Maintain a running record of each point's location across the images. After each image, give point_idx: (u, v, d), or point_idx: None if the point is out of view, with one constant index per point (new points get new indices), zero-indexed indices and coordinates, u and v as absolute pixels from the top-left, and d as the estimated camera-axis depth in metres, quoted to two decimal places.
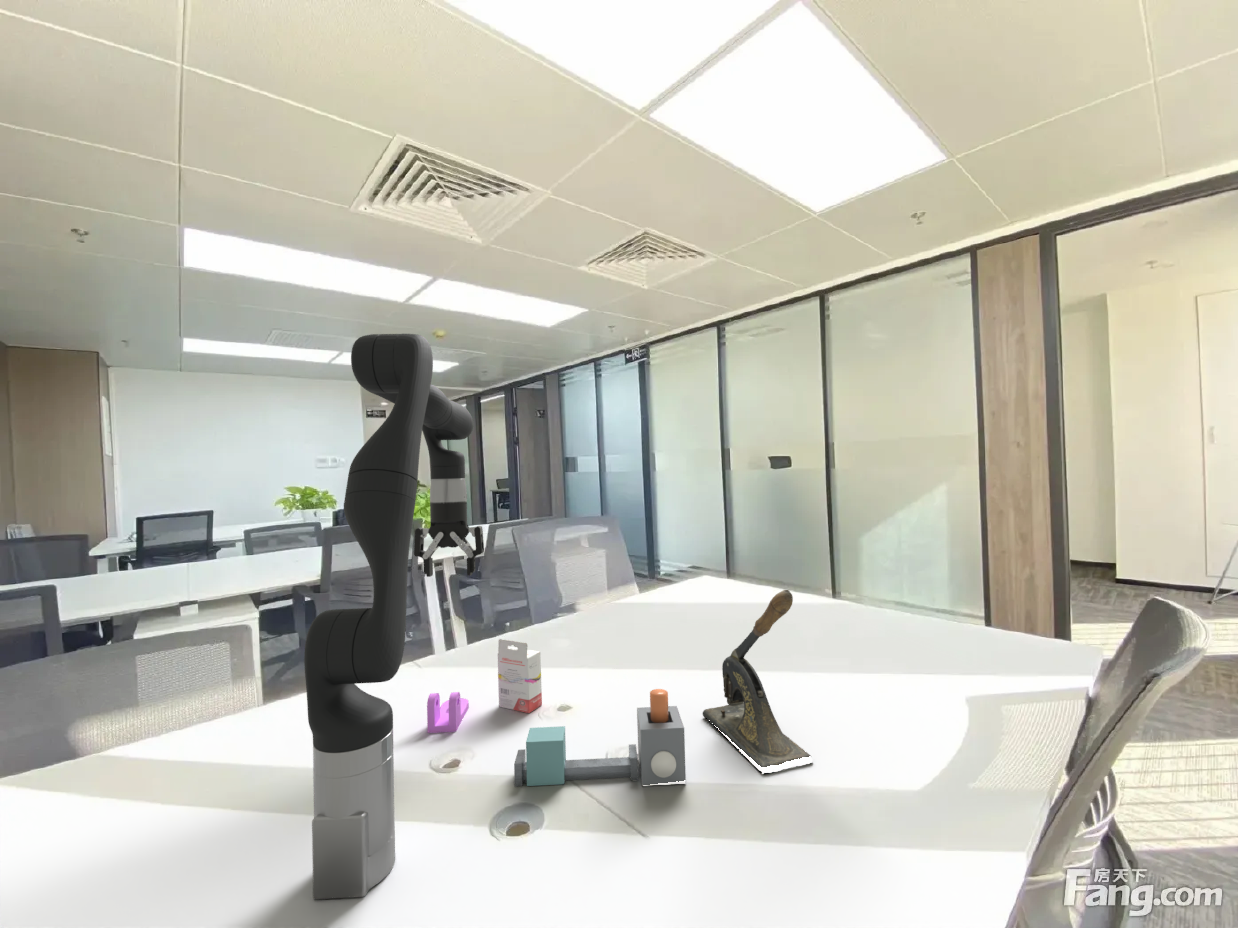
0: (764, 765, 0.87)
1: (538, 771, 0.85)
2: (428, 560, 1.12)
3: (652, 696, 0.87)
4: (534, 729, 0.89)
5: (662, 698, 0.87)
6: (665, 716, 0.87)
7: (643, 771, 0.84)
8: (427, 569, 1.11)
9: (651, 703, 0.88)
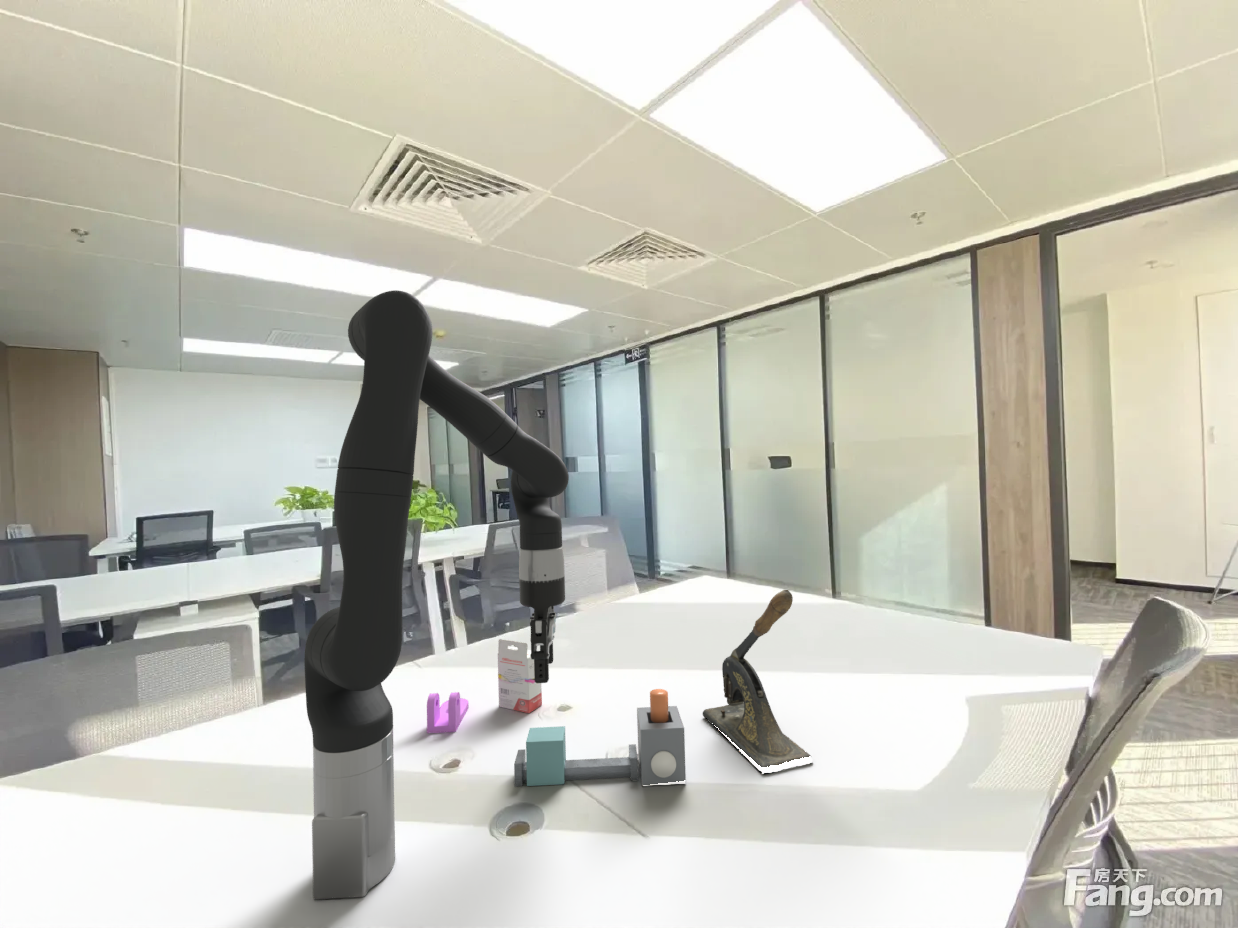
0: (764, 765, 0.87)
1: (538, 771, 0.85)
2: (547, 659, 0.84)
3: (652, 696, 0.87)
4: (534, 729, 0.89)
5: (662, 698, 0.87)
6: (665, 716, 0.87)
7: (643, 771, 0.84)
8: (548, 671, 0.83)
9: (651, 703, 0.88)
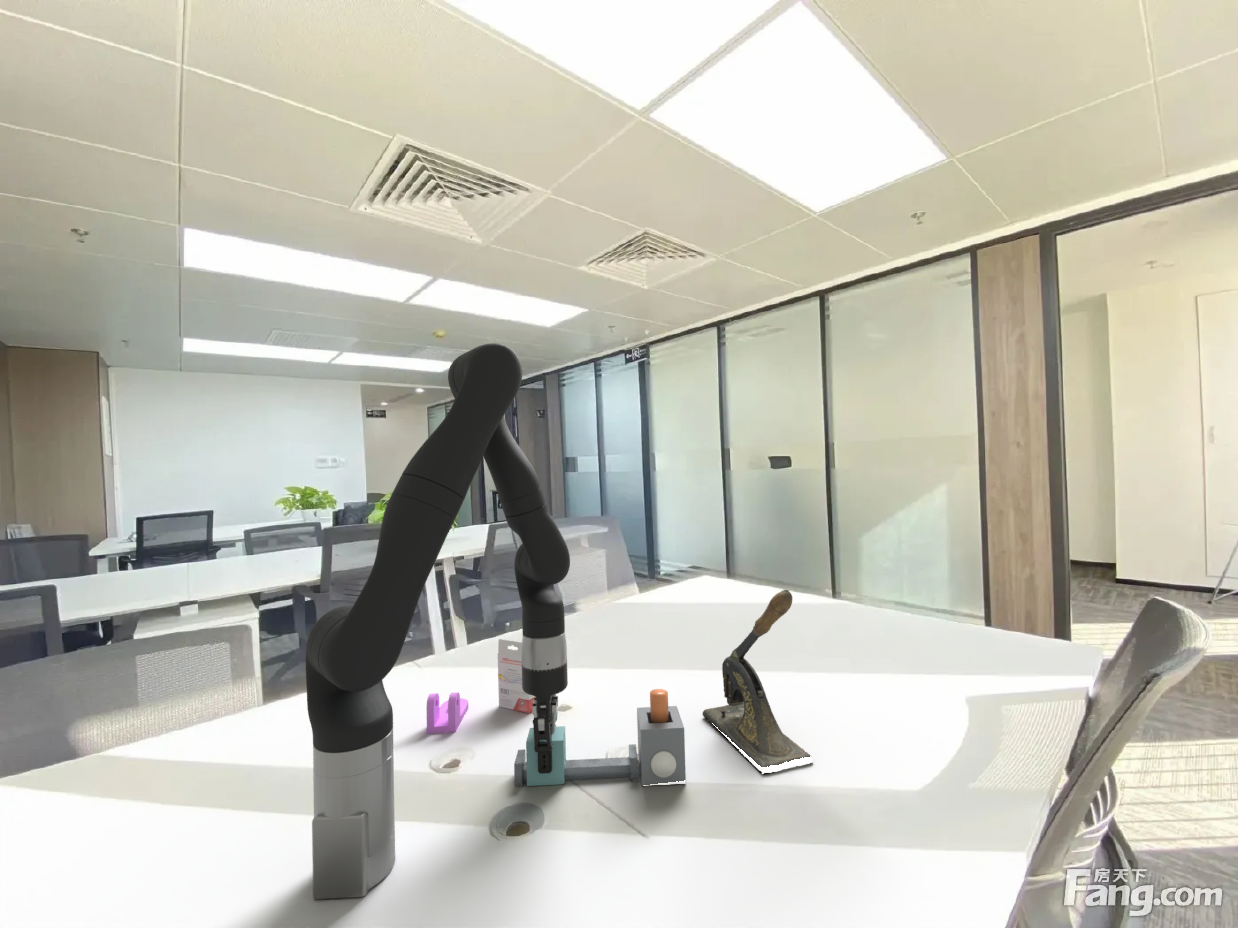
0: (764, 765, 0.87)
1: None
2: (551, 749, 0.85)
3: (652, 696, 0.87)
4: None
5: (662, 698, 0.87)
6: (665, 716, 0.87)
7: (643, 771, 0.84)
8: (551, 761, 0.84)
9: (651, 703, 0.88)
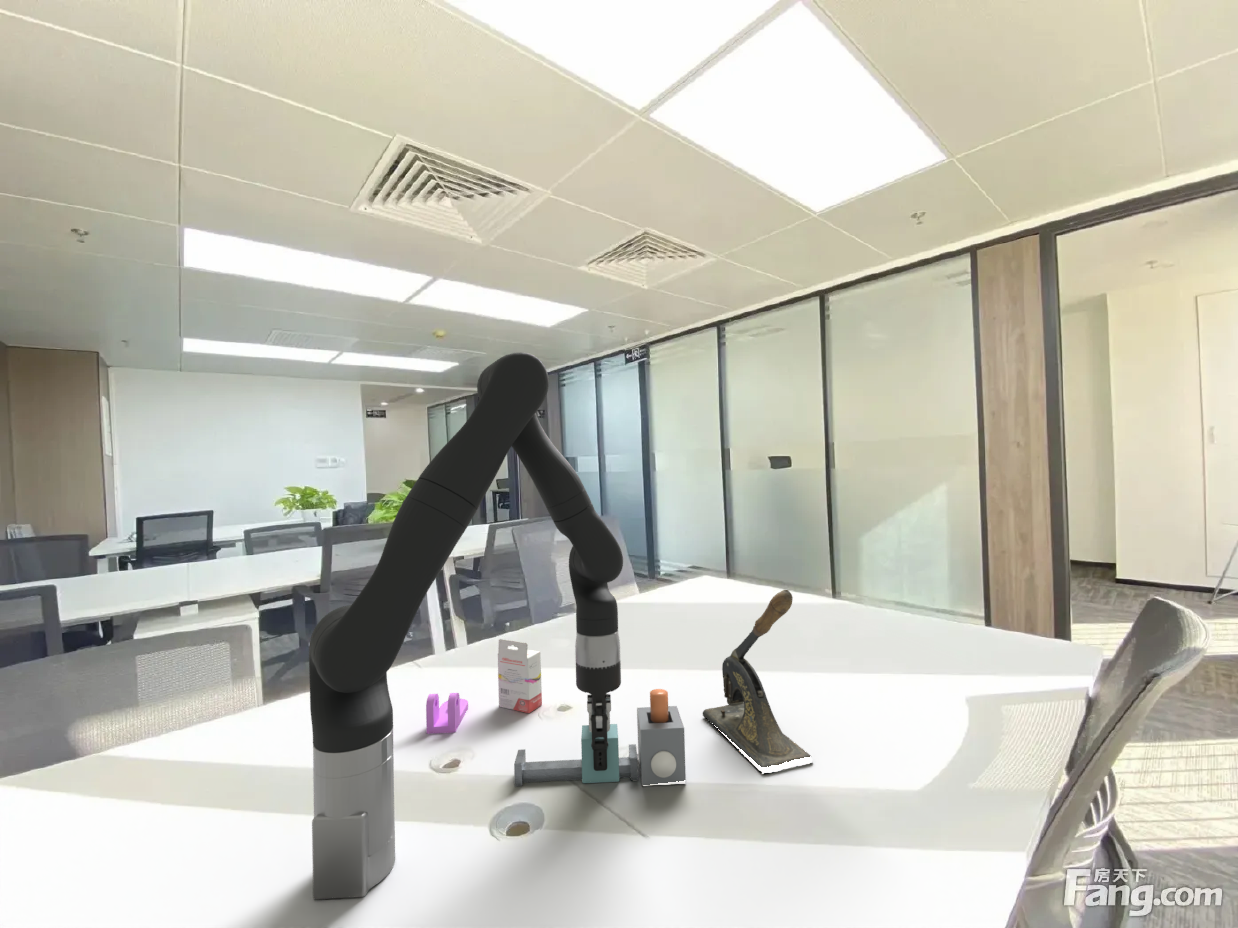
0: (764, 765, 0.87)
1: (593, 768, 0.85)
2: None
3: (652, 696, 0.87)
4: (587, 727, 0.89)
5: (662, 698, 0.87)
6: (665, 716, 0.87)
7: (643, 771, 0.84)
8: None
9: (651, 703, 0.88)
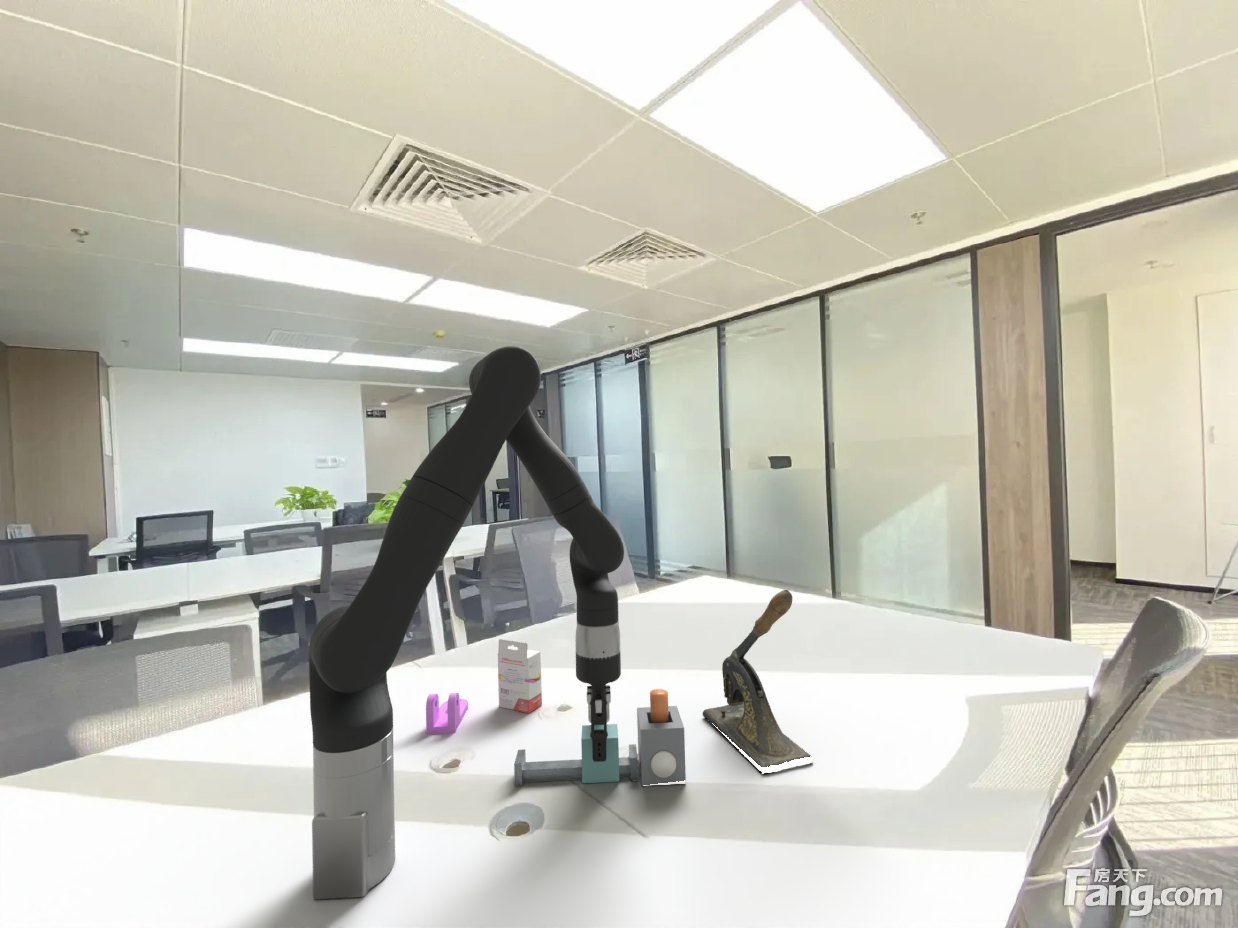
0: (764, 765, 0.87)
1: (593, 768, 0.85)
2: None
3: (652, 696, 0.87)
4: (587, 727, 0.89)
5: (662, 698, 0.87)
6: (665, 716, 0.87)
7: (643, 771, 0.84)
8: None
9: (651, 703, 0.88)
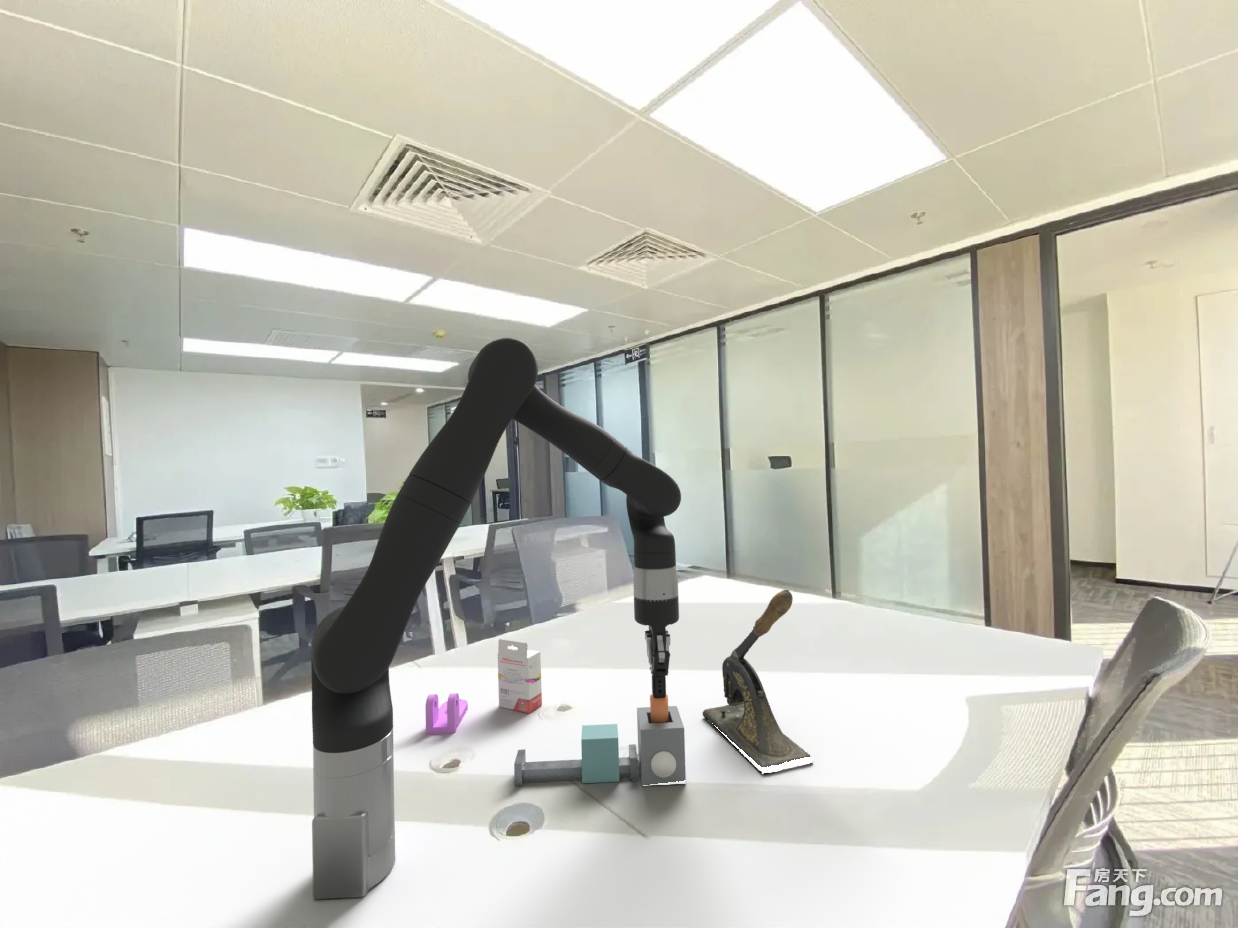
0: (764, 765, 0.87)
1: (593, 768, 0.85)
2: (664, 675, 0.88)
3: (652, 700, 0.87)
4: (587, 727, 0.89)
5: (662, 702, 0.87)
6: (665, 720, 0.87)
7: (643, 771, 0.84)
8: (665, 687, 0.88)
9: (651, 707, 0.88)
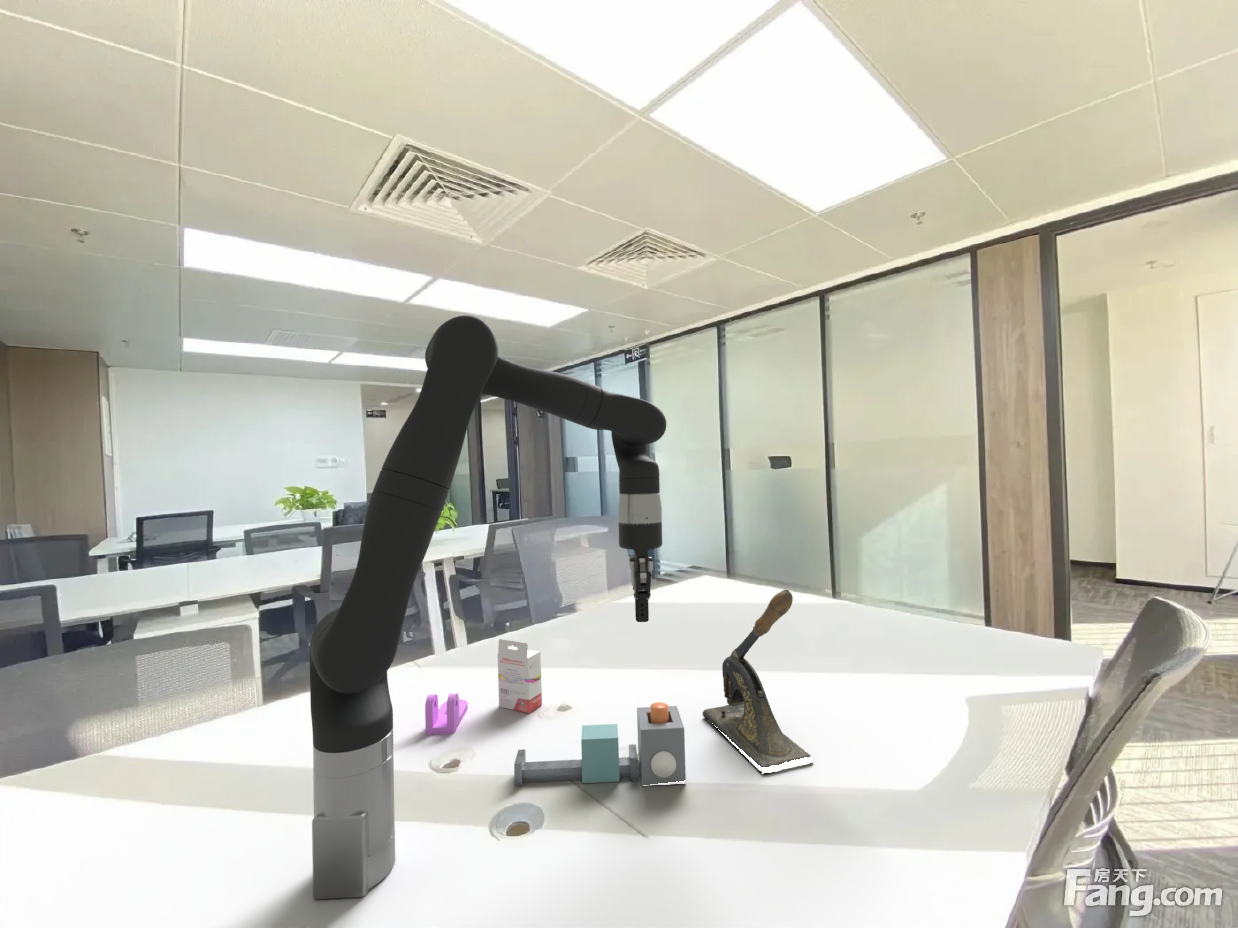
0: (764, 765, 0.87)
1: (593, 768, 0.85)
2: (647, 600, 0.90)
3: (652, 710, 0.87)
4: (587, 727, 0.89)
5: (662, 712, 0.87)
6: None
7: (643, 771, 0.84)
8: None
9: (651, 717, 0.87)
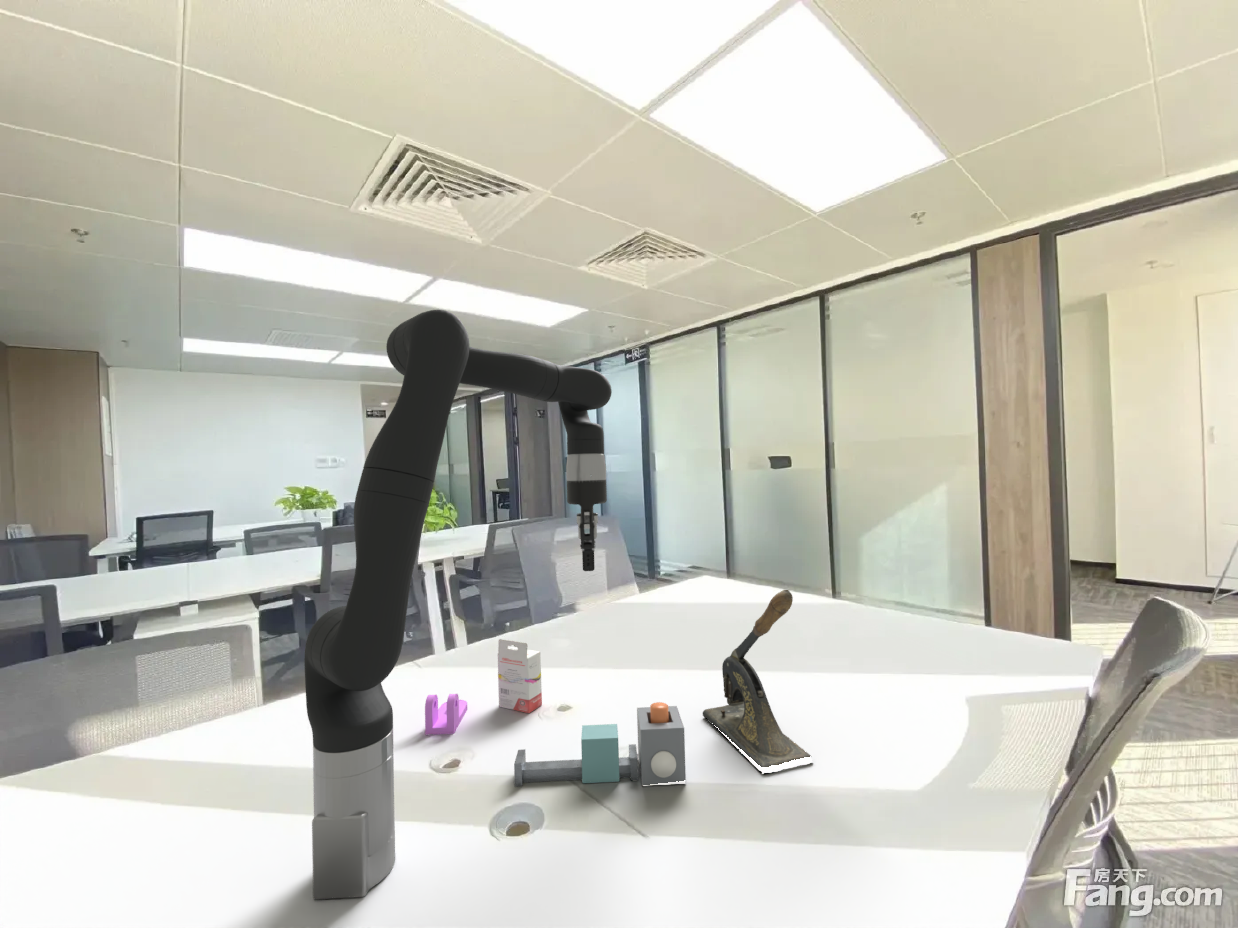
0: (764, 765, 0.87)
1: (593, 768, 0.85)
2: (593, 551, 0.99)
3: (652, 710, 0.87)
4: (587, 727, 0.89)
5: (662, 712, 0.87)
6: None
7: (643, 771, 0.84)
8: None
9: (651, 717, 0.87)
